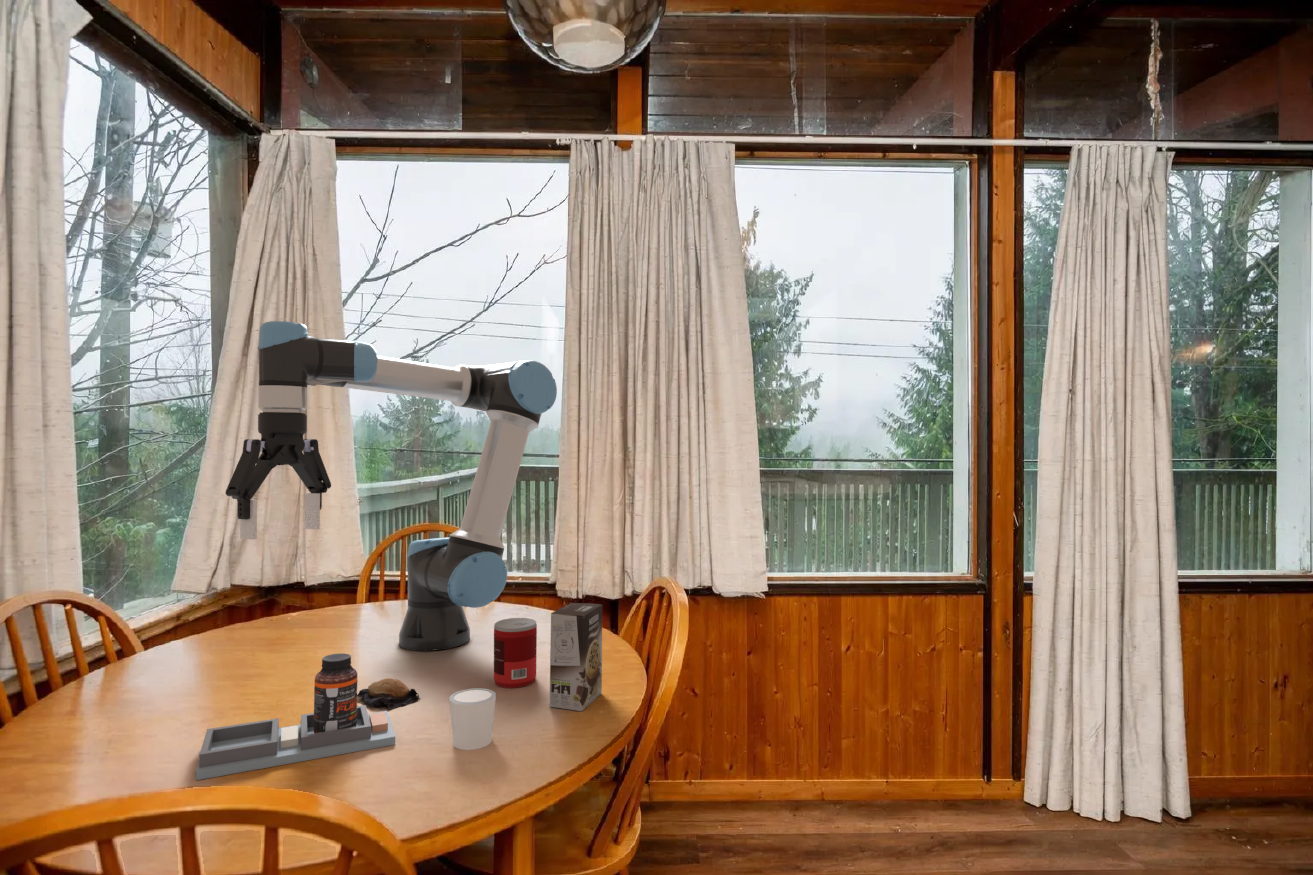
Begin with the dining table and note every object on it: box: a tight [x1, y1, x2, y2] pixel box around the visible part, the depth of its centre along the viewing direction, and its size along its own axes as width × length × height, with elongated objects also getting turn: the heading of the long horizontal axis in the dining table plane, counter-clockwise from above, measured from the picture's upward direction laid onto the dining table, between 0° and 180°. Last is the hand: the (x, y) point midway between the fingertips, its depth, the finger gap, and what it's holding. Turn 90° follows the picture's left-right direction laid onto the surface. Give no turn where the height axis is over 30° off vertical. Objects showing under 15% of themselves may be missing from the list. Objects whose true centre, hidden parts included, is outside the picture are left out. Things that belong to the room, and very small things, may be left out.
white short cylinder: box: [448, 687, 497, 751], centre depth 106 cm, size 7×7×7 cm
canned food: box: [493, 617, 538, 689], centre depth 133 cm, size 8×8×11 cm
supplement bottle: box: [313, 653, 358, 733], centre depth 107 cm, size 6×6×11 cm
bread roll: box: [357, 677, 421, 712], centre depth 124 cm, size 11×8×4 cm
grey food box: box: [549, 602, 603, 712], centre depth 124 cm, size 9×6×16 cm
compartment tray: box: [195, 704, 396, 781], centre depth 104 cm, size 25×11×3 cm, turn 117°
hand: (282, 533), depth 123 cm, fingers open, 13 cm apart
